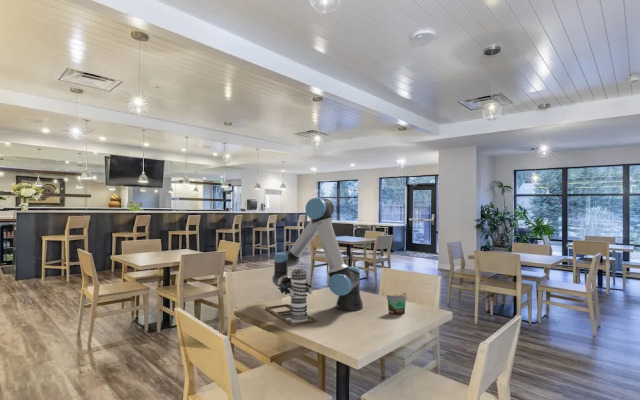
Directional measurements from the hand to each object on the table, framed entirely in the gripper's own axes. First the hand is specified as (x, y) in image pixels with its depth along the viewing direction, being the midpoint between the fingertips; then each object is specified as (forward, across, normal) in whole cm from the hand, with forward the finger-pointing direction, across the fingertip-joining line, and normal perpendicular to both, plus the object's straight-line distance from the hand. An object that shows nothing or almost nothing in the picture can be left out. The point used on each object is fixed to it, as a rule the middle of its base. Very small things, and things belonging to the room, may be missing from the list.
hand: (302, 292), depth 174 cm
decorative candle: (-5, 0, -15) cm, 16 cm away
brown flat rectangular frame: (-15, +1, -15) cm, 21 cm away
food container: (+7, -54, -15) cm, 56 cm away
